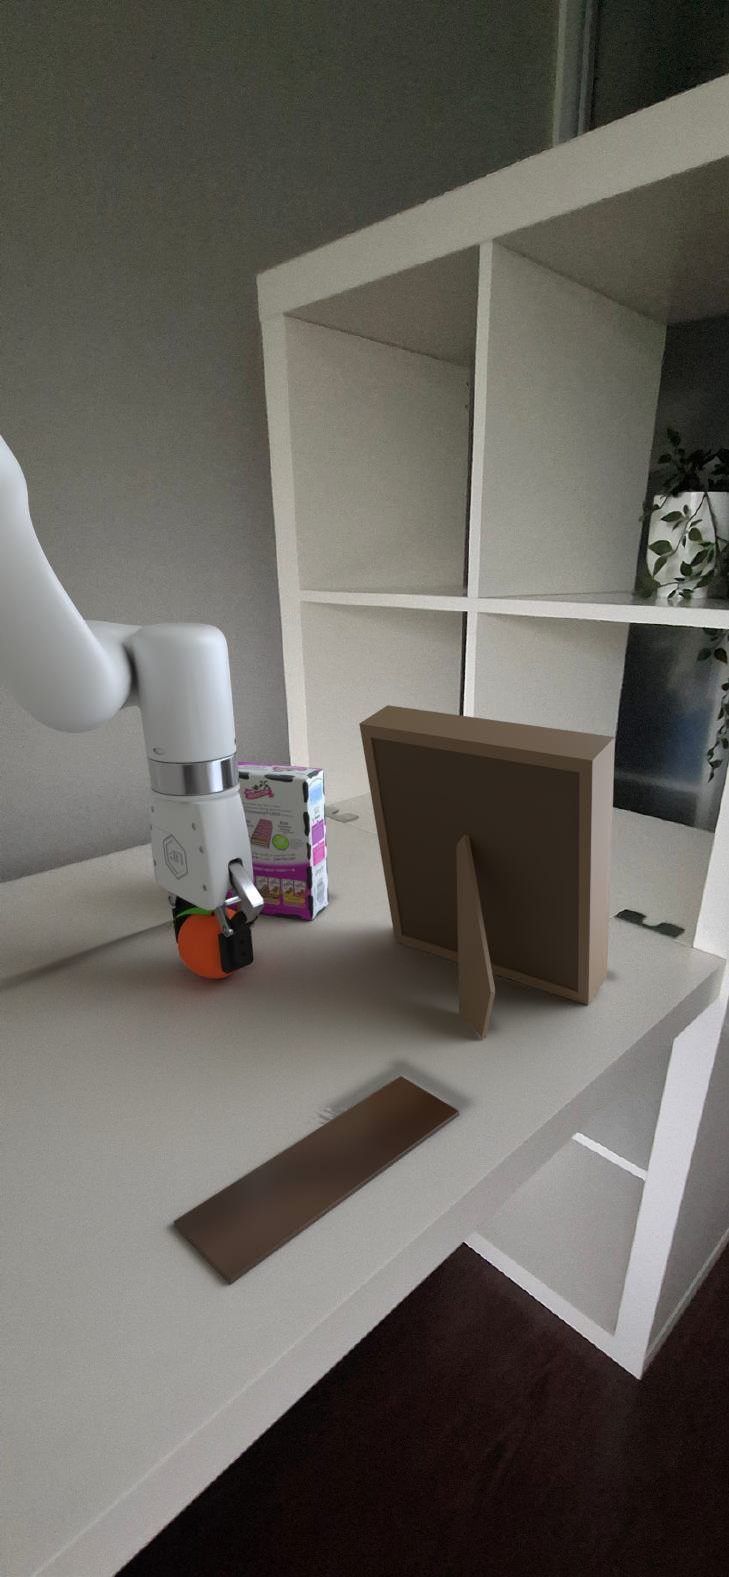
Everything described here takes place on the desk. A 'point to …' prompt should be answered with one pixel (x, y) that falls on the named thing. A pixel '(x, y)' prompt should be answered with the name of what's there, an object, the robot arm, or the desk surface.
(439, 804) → the photo frame
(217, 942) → the clementine
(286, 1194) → the edge strip
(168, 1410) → the desk surface
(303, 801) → the candy bar box
